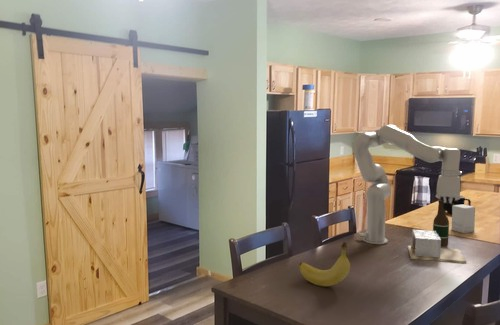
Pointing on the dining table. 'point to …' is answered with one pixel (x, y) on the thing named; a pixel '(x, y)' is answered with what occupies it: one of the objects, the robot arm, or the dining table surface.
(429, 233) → the cover
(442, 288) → the dining table surface
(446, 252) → the housing base
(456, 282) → the dining table surface
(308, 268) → the banana
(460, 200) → the mug
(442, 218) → the beer bottle
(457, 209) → the supplement box
